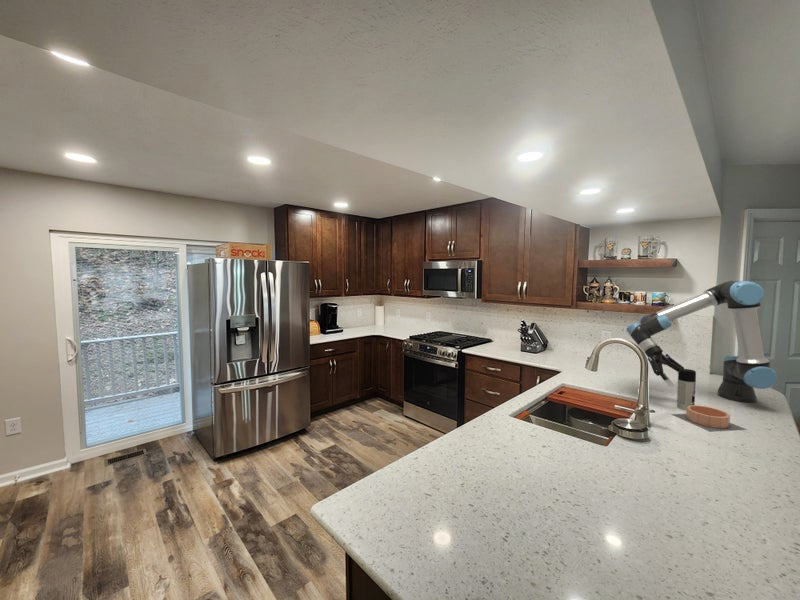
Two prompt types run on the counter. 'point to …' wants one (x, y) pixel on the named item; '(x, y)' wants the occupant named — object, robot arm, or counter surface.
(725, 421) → the bowl
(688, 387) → the spray can
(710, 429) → the mat
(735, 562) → the counter surface
